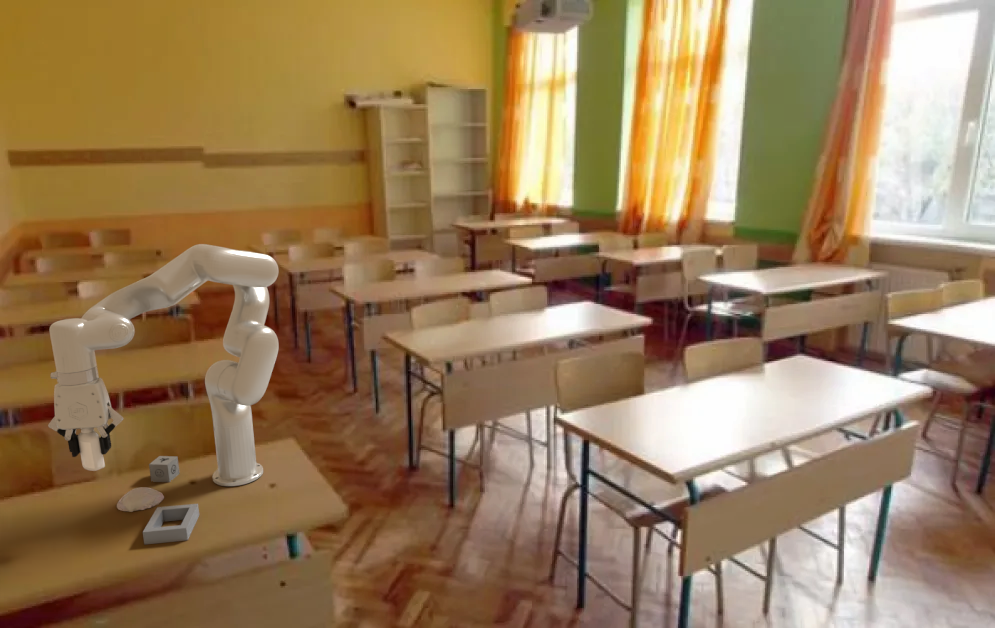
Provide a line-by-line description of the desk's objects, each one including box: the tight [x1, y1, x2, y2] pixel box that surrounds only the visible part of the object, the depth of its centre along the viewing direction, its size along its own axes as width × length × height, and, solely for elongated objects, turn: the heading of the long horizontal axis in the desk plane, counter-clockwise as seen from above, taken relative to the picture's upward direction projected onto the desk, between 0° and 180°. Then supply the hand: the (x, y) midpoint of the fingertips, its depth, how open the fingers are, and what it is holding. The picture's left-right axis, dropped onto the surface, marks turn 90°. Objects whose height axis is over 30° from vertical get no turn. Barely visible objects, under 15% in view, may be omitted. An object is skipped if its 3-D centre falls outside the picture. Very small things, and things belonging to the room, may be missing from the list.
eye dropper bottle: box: [77, 428, 106, 472], centre depth 154 cm, size 4×6×12 cm
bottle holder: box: [142, 503, 200, 545], centre depth 159 cm, size 11×9×3 cm
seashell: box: [116, 486, 165, 513], centre depth 171 cm, size 10×6×10 cm
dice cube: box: [148, 455, 180, 483], centre depth 184 cm, size 5×5×5 cm
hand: (91, 452), depth 155 cm, fingers closed on eye dropper bottle, 5 cm apart
